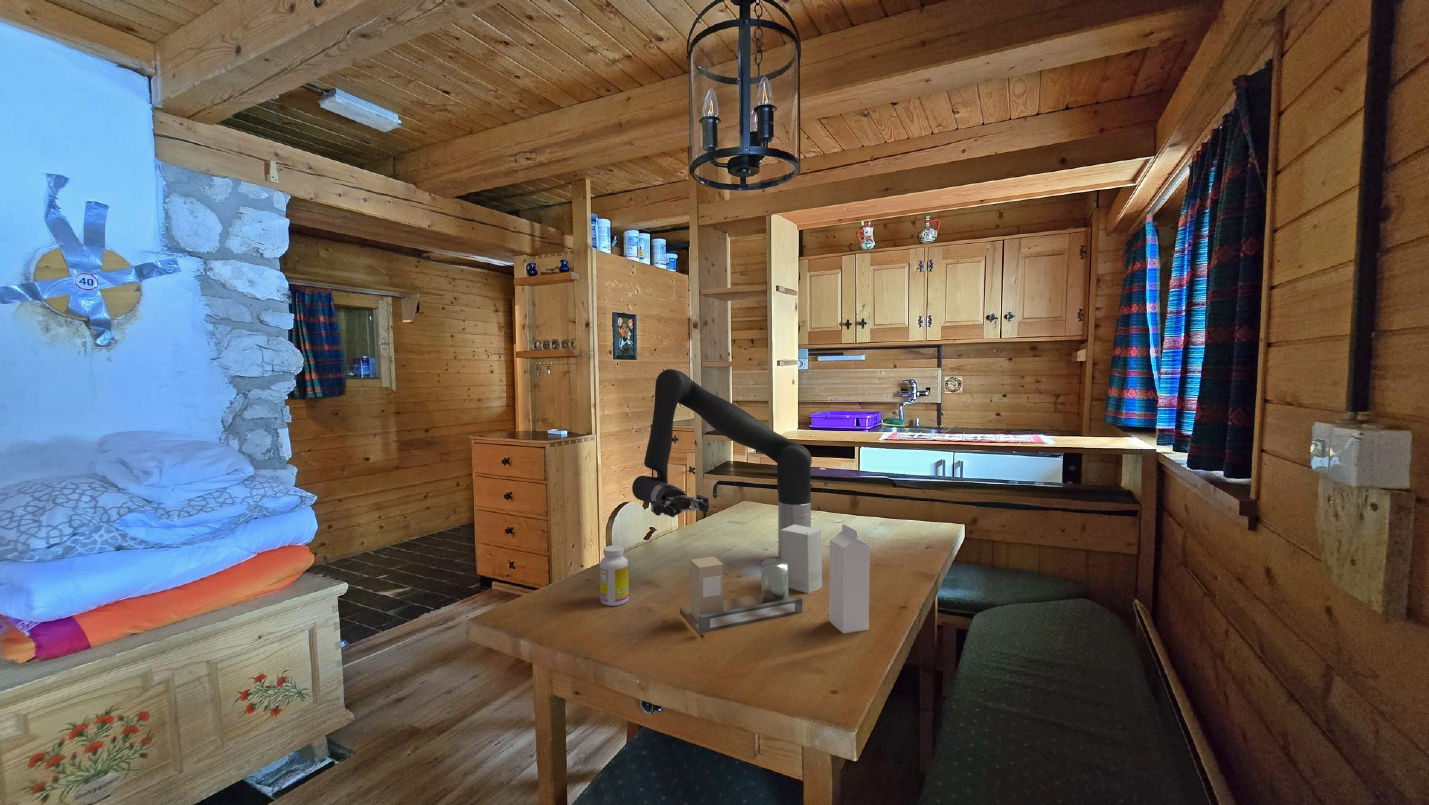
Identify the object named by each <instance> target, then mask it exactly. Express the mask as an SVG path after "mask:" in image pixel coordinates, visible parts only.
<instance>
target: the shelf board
mask: <svg viewBox="0 0 1429 805" xmlns="http://www.w3.org/2000/svg"><path fill="white" fill-rule="evenodd" d="M801 613H803V598H801V597H800V596H798V597H792V598H789V599H786V600H781V601H775V602H770V603H764V604H762V593H757V594H753V595H745V596H740V597H734V598H728V599H724V611H720V612H715V613H709V614H704V615H699V622H698V621H697V620H696V619H695V618H694V616H693V615H692V614H691V605H689V606H682V607H679V615H681V616H682V618H683V619H684V620H685V621H686V622H687V624H688V625H690V627H691V628H692V629H693V630H694V631H695V632H696V634H697V635H698V636H699V637H700V638H701V639H702V638H705V637H706V636H705V635H704V634H703V633H704V632H710V631H713V630H719V629H724V628H729V627H730V628H731V627H734V626H741V625H745V624H751V623H755V622H760V621H766V620H767V621H768V620H770V619H776V618H782V617H787V616H793V615H796V614H801Z"/></svg>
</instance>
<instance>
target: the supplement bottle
mask: <svg viewBox="0 0 1429 805" xmlns="http://www.w3.org/2000/svg"><path fill="white" fill-rule="evenodd" d="M624 549H625V548H624V546H623V545H619V544H615V545H613V544H611V545H608V546H605V547H603V555H604V557H603V558H601V560H600V562H599V597H600V602H601V604H602V605H605V606H607V607H608V606H609V607H610V606H611V607H613V606H614V607H615V606H622V605H624V604H626V603H627V602H628V601H629V598H630V597H629V594H630V589H629V560H628V559H627V557H626V556H624V552H625V551H624Z"/></svg>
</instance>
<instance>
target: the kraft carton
mask: <svg viewBox="0 0 1429 805" xmlns="http://www.w3.org/2000/svg"><path fill="white" fill-rule="evenodd" d="M689 561H690V562H689V564H690V568H689V570H690V571H689V572H690V576H689V577H690V606H691V614H692V615H693V616H694V618H695V619H696V620H697V621H698V622H699V615H704V614H709V613H715V612H720V611H724V600H725V599H724V586H725V585H724V583H725V582H724V563H722V561H720V560H719V559H718V558H717V557H715V556H708V557H698V558H692V559H690V560H689Z"/></svg>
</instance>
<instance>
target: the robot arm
mask: <svg viewBox="0 0 1429 805" xmlns="http://www.w3.org/2000/svg"><path fill="white" fill-rule="evenodd" d="M678 404H680V405H681V406H684V407H685V408H687V409H690V411H693V412H694V413H696V414H697V415H698V416H699V417H700V418H701V419H703V420H704V421H705V422H706V423H707V424H708V425H709V426H710V427H712V428H713V429H714V430H715V431H716V432H718V433H720V434H722V435H723V436H725V437H726V438H728V439H729V440H731V441H733V442H735V443H737V444H739V445H742V446H744V447H745V448H749V449H752V450H753V451H754V450H755V451H757V452H759V453H761V454H763V455H765V456H766V457H768V458H769V459H771V461H773V462H775V463H777V464H776V482H777V484H776V485H777V486H776V487H777V488H776V490H777V495H778V497H777V498H778V499H777V500H778V501H777V502H778V503H777V504H778V507H777V509H778V510H777V515H778V516H777V517H778V520H777V522H778V524H777V525H778V527H777V528H778V529H777V530H778V533H777V534H778V536H777V537H778V538H777V539H778V540H777V542H778V543H777V545H778V546H777V548H778V549H777V551H778V552H777V559H781V537H780V530H781V529H784V528H787V527H789V526H791V525H794V524H795V525H800V526H806V527H811V528H813V527H812V526H811V525H812V493H811V492H812V491H811V466H812V462H813V459H812V455H811V452H810V451H809V450H808V448H806V447H805V446H804V445H802V444H800V443H797V442H795V441H793V440H791V439H790V438H787V437H785V436H783V435H781V434H779V433H777V432H776V431H774V430H772V429H771V428H770V427H768V426H767V425H766V424H765V423H764V422H761V420H759V419H757V418H755V417H754V416H753V415H751V414H750V413H749V412H747V411H745V410H744V409H742V408H741V407H739V406H737V405H736V404H733V403H732V402H730V401H728V400H726V399H724V398H723V397H720V396H718V395H715V394H714V393H711V392H709V391H708V390H706V389H704V388H703V387H702V386H700V385H699V384H698V383H697V382H695V380H693V379H692V378H690V377H689V376H688V375H686V374H685V373H684V372H682V371H680V370H677V369H673V368H672V369H671V368H668V369H665V370H662V371H661V372H660V373H659V374H658V375H657V376H656V379H655V386H654V405H653V414H652V421H651V428H650V432H649V437H648V438H649V439H648V442H647V448H646V452H645V456H644V461H643V464H644V466H645V467H646V468H648V469H649V470H653V471H654V472H656V476H651V475H650V476H648V475H640V476H638V477H636V478H635V479H634V480H633V482H632V484H631V485H632V486H631V487H632V488H631V491H632V494H633V496H634V497H635V499H637V500H639V501H642V502H644V503H645V502H646V503H650V506H651V507H650V508H651V510H650V511H651V512H652V513H653V514H654V515H655V516H661V515H662V514H663V515H664V516H668V517H670V518H675V517H676V516H678V515H680V514H681V513H683V512H694V511H697V510H698V511H701V512H702V513H704V514H705V513H708V511H709V509H710V503H709V502H710V499H709V498H708V497H705V496H703V495H699V494H697V495H696V496H695V497H694V496H687V494H686V493H685V491H683V489H681V488H680V487H677V486H675V485H673V484H671V483H669V481H668V479H669V478H668V466H669V460H670V456H671V452H672V451H671V450H672V447H673V446H672V444H673V436H674V435H673V433H674V432H673V431H674V430H673V429H674V428H673V427H674V419H675V418H674V417H675V414H676V409H677V406H678Z"/></svg>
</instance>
